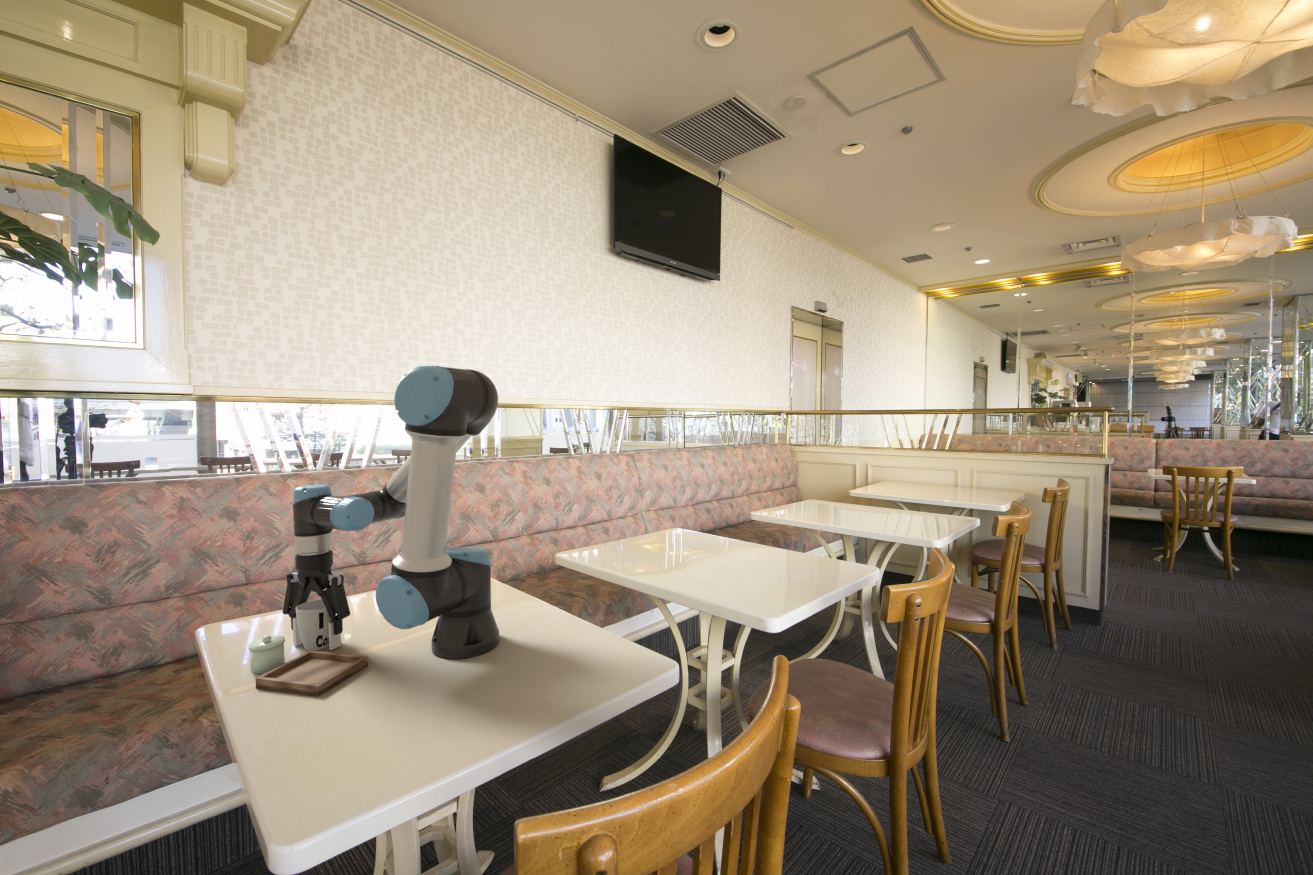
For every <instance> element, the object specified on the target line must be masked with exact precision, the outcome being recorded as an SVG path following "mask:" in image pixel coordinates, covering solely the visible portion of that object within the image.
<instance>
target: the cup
mask: <svg viewBox="0 0 1313 875" xmlns="http://www.w3.org/2000/svg"><path fill="white" fill-rule="evenodd" d="M296 617H297V626H298V630H299V634H300V638H301V641H302V643H301V644H302V645H303V647H304V649H305V651H306V652H308V651H310V650H311V651H321V650H323V649H326V648H328V647H329V627H328V622H329V621H331V618H330V616H329V614H328V611H327V609H326V607H325V605H324V603H323V601H322V599H321V598H320V599H319V598H318V599H313V600H309V601H308V600H307V602H305V603H302V604H300V605H298V606H297V607H296Z"/></svg>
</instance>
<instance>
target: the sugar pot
mask: <svg viewBox="0 0 1313 875" xmlns="http://www.w3.org/2000/svg"><path fill="white" fill-rule="evenodd" d="M285 642H286V638H285V636H282V635H268V634H267V635H264V636H263V637H261V638H257V639H255V640H253V641H251V642H250V643H249V644H248V650H249V659H250V660H249V661H250V672H251V673H252V674H257V675H259V674H260V675H262V674H265V673H267V672H269V671H271V670H273V669H275V668H277V667H279V666H281V665H283V664H285V663H286V661H285V660H286V659H285Z"/></svg>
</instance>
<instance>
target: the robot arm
mask: <svg viewBox="0 0 1313 875" xmlns="http://www.w3.org/2000/svg"><path fill="white" fill-rule="evenodd" d="M393 400H394V401H393V402H394V408H395V410H396V411H398V412H397V415H398V417H399V419H400V420H401V421H402V422H403V423H405V427H404V431H405V432H406V433H407V434H408V435H409V436H410V437H411V448H410V449H411V450H410V455H409V456H408V458H407V459H406V460H405V462H403V463H402V464H401V466H400V467H399V468H398V469H397V471H396V472H395V473H394V474H393V476H392V477H391V478H390V479H389V480H388V481H387V483H386V484H384V485H383V487H382V488H381V489H379V490H374V491H373V490H372V491H368V492H361V493H356V494H349V495H332V494H333V493H332V490H331V487H330V486H329V485H328V484H308V485H300V486H297V487H296V488H294V490H293V492H292V493H293V497H292V500H293V501H292V502H293V503H292V504H291V506H292V513H293V514H292V516H293V532H294V534H293V535H294V537H293V538H294V541H293V542H294V552H295V553H296V554H295V556H294V561H295V562H294V567H295V570H296V571H295V572H292V573H287V575H286V576H285V578H286V590H285V596H284V601H283V607H282V608H283V609H282V614H283V615H288V616H289V618H290V628H291V631H292V634H293V636H292V637H293V646H295V647H297V646H300V645H301V644H303V643H302V641H301V638H300V634H299V630H298V626H297V617H296V607H297V606H298V605H300V604H302V603H305V602H308V599H309V597H310V594H311V593H312V592H314V593H316V595H317V597H320V599H322V601H323V603H324V605H325V607H326V609H327V611H328V614H329V616H330V618H331V621H329V622H328V627H329V646H328V647H329V648H328V650H329V651H333V650H334V649H336V648H338V647H340V646H342V636H341V635H342V633H343V631H344V630H343V629H344V627H343V624H344V623H343V619H345V618H348V617H349V616H351V610H350V607H349V603H348V598H347V595H346V594H347V593H346V590H345V587H344V586H345V585H344V581H345V580H344V579H345V577H344V575H343V574H338V575H333V573H332V567H333V565H334V551H333V550H332V548H333V530H339V531H343V532H344V531H345V532H358V531H363V530H365V528H367V527H368V526H369V525H372V524H376V523H381V522H384V521H390V520H394V519H401V518H403V517H404V520H403V530H402V539H401V549H400V552H399V553H398V554H396V555H395V556H394V557H393V558H392V560H391V568H390V575H385V576H384V577H383V578H382V579H381V580H380V581H379V582H378V584H377V586H376V589H375V601H376V606H377V608H378V611H379V612H380V613H381V615H382V616H383V617H382V618H384V619H385V621H386V622H387V623H388V624H390V625H391V626H393V627H394V628H397V629H400V630H410V629H413V628H416V627H420V626H423V625H425V624H426V623H427V622H429V621H431V620H433V619H436V618H437V621H436V625H435V628H434V630H433V634H432V638H431V653H433V655H435V656H437V657H440V658H443V659H450V660H451V659H456V660H457V659H466V658H472V657H476V656H479V655H483V654H485V653H488V652H490V651H492V650H493V649H495V648H496V647H497V646H498V645H499V643H500V630H499V628H498V624H497V622H496V619H495V616H494V614H493V610H492V585H491V584H492V581H491V580H492V578H491V576H492V574H491V570H492V568H491V567H492V564H491V557H490V552H489V551H488V550H487V549H486V548H483V547H477V546H450V547H447V540H448V532H449V531H448V530H449V521H450V512H451V503H452V496H453V495H452V493H453V485H454V476H455V475H454V474H455V466H456V457H457V453H458V451H459V450H461V448H462V447H463V446H464V445H465V443H466V442H467V441H468V440H469V439H470V438H471V437H476V436H479V435H480V433H481V432H483V431H484V429H485V428H487V426H488V424H489V423H490V422H491V421H492V419H493V417H494V416H495V414H496V412H497V409H498V407H499V394H498V391H497V388H496V385H495V383H494V382H493V380H491V378H490V377H489V376H487V375H486V374H485V373H483V372H481V371H478V370H474V369H465V368H457V367H456V368H455V367H447V366H440V365H421V366H416V367H413V368H411V369H409V370H408V372H407V373H405V374H404V375H402V377H401V378H400V380H399V381H398V384H397V386H396V388H395V391H394V398H393Z"/></svg>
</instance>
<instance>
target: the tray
mask: <svg viewBox="0 0 1313 875" xmlns="http://www.w3.org/2000/svg"><path fill="white" fill-rule="evenodd" d="M368 666H369V656H365V655H364V656H363V655H355V654H345V653H338V652H337V653H336V652H330V651H329V652H328V651H321V650H316V651H311V650H310V651H306V652H305V653H302V654H300V655H299V656H296V657H294V658H293V659H291V660H288V661H287V662H286V661H285V664H283V665H281V666H279V667H277V668H275V669H273V670H271V671H269V672H267V673H262V674H260V675H259V676H257V677H256V678H255V688H256V689H260V690H261V689H262V690H267V691H277V692H285V693H291V694H299V695H306V696H313V697H314V696H315V697H320V696H321V695H324V694H325V693H326V692H328V691H330V690H332V689H333V688H335V687H336V686H338V685H340V684H341V683H343V682H344V681H346V680H347V679H349V678H351V677H352V676H354V675H356V674H357V673H359V672H361V671H362V670H364V669H365V668H367V667H368Z"/></svg>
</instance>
